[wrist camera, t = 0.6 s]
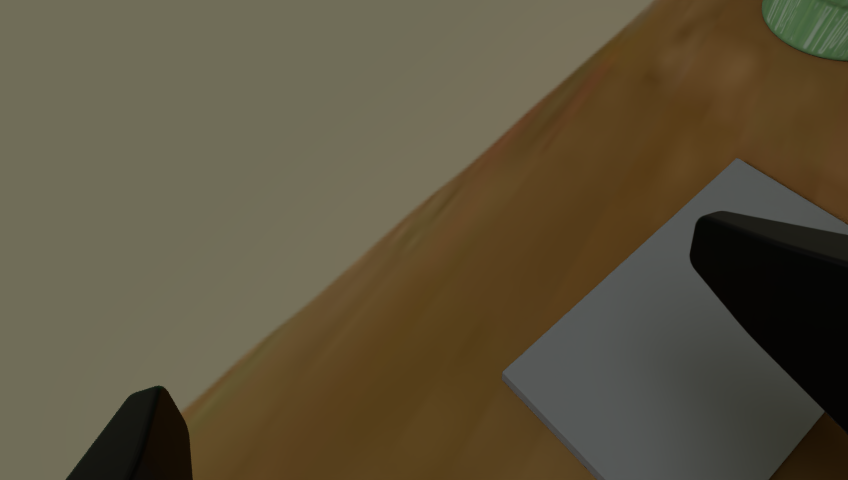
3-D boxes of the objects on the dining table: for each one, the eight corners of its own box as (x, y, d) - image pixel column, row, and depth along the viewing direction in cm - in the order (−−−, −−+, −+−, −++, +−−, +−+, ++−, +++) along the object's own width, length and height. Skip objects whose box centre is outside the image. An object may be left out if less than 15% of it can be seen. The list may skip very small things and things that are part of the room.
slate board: (918, 288, 22) (935, 277, 22) (683, 570, 18) (693, 571, 17) (729, 170, 26) (737, 157, 26) (501, 379, 22) (502, 372, 21)
